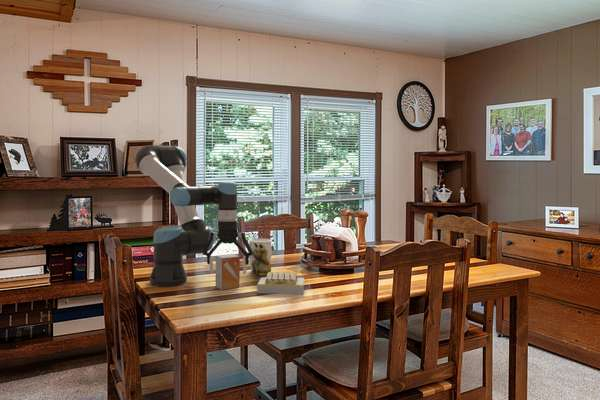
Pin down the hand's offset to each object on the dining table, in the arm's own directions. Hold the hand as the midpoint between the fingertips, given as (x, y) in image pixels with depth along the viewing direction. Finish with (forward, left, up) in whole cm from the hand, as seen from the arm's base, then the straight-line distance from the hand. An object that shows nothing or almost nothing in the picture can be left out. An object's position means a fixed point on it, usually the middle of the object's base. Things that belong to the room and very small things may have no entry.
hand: (228, 272), depth 202 cm
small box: (0, 0, -6) cm, 6 cm away
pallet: (+22, -1, -3) cm, 22 cm away
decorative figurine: (+12, +20, -6) cm, 24 cm away
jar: (+10, +30, -6) cm, 32 cm away
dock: (+22, -1, -6) cm, 23 cm away
